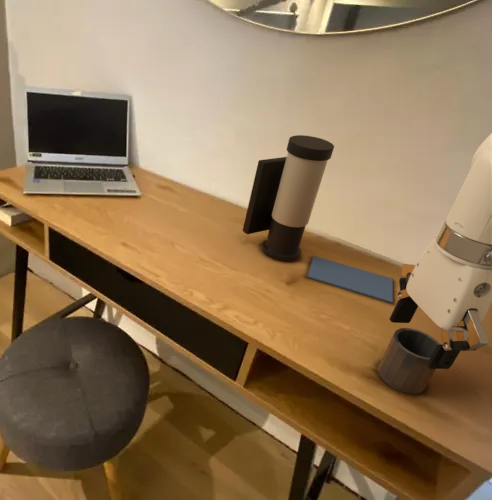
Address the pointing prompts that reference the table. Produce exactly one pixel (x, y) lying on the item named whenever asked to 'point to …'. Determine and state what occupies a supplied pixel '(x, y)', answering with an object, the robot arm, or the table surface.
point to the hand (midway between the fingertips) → (417, 343)
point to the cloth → (352, 279)
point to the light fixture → (287, 195)
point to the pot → (408, 360)
